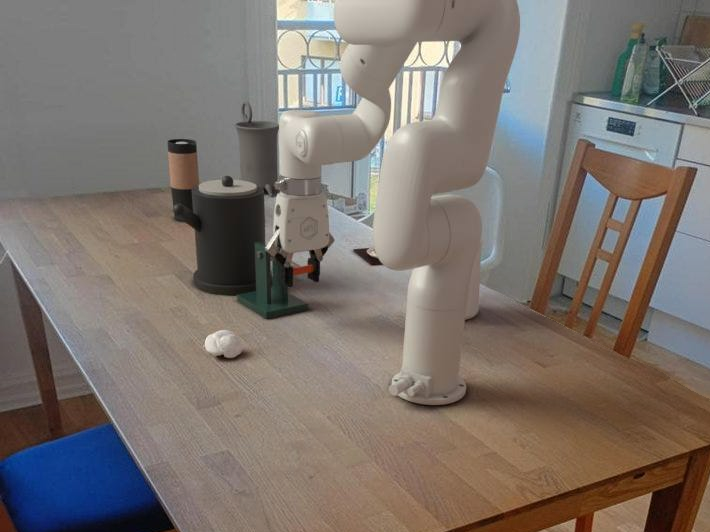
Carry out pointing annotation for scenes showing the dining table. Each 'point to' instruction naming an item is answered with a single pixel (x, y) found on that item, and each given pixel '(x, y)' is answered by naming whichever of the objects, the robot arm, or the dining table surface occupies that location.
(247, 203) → the kettle
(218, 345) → the dumpling
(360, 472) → the dining table surface
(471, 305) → the coffeepot
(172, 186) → the travel mug
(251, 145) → the grey canister
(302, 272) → the switch lever
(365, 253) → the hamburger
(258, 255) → the switch bracket
